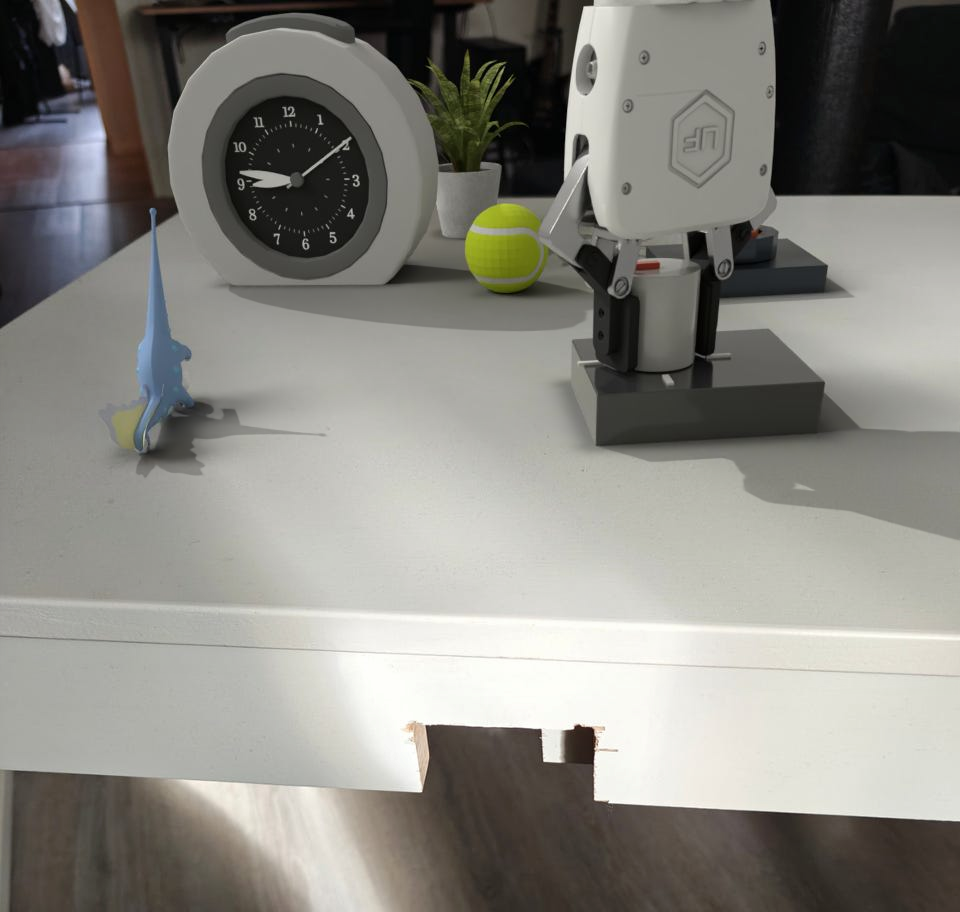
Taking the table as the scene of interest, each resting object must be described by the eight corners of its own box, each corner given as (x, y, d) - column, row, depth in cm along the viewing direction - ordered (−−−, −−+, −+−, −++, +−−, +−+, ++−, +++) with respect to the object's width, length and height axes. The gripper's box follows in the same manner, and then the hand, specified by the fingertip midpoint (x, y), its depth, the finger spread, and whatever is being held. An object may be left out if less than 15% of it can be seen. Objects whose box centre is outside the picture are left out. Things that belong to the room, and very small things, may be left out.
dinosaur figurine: (158, 475, 63) (99, 447, 54) (148, 233, 63) (87, 162, 53) (205, 473, 63) (154, 445, 54) (195, 231, 63) (142, 159, 53)
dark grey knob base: (763, 376, 63) (769, 325, 61) (817, 436, 55) (826, 378, 53) (566, 387, 63) (566, 336, 61) (590, 449, 54) (591, 391, 53)
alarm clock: (189, 287, 88) (138, 20, 78) (219, 267, 95) (176, 17, 84) (430, 286, 85) (412, 8, 75) (444, 265, 92) (430, 6, 81)
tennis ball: (485, 307, 79) (482, 215, 76) (454, 288, 85) (450, 201, 81) (562, 295, 81) (563, 205, 78) (528, 278, 87) (527, 193, 83)
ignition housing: (784, 265, 87) (790, 215, 85) (824, 294, 78) (831, 240, 76) (644, 272, 87) (647, 222, 84) (669, 303, 78) (673, 248, 76)
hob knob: (681, 345, 59) (688, 249, 56) (704, 369, 55) (712, 267, 52) (607, 351, 59) (610, 255, 56) (624, 375, 55) (628, 273, 52)
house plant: (441, 215, 112) (432, 43, 103) (558, 221, 106) (558, 40, 98) (374, 242, 101) (357, 53, 92) (500, 250, 96) (495, 50, 87)
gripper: (561, -30, 41) (559, 406, 51) (873, -43, 47) (818, 348, 57) (476, -25, 47) (489, 367, 57) (765, -37, 53) (731, 318, 63)
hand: (654, 354), depth 57 cm, fingers closed on hob knob, 4 cm apart
